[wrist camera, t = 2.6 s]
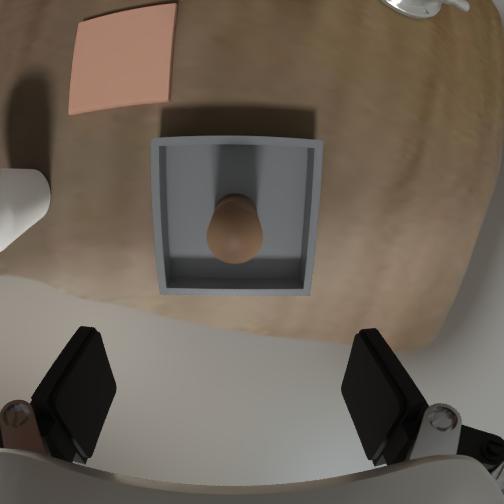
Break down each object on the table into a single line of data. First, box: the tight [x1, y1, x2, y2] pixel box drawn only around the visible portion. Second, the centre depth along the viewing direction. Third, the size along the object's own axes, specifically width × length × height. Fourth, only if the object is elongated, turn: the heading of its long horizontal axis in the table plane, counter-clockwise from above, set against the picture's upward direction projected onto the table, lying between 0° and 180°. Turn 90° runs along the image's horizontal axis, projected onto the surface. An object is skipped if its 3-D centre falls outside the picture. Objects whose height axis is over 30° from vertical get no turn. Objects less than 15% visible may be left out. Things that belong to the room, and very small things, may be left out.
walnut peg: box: [207, 194, 263, 264], centre depth 27 cm, size 4×4×8 cm
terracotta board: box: [69, 3, 178, 115], centre depth 24 cm, size 12×12×1 cm
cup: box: [0, 168, 51, 252], centre depth 23 cm, size 9×9×12 cm
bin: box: [151, 136, 323, 296], centre depth 30 cm, size 16×16×4 cm
